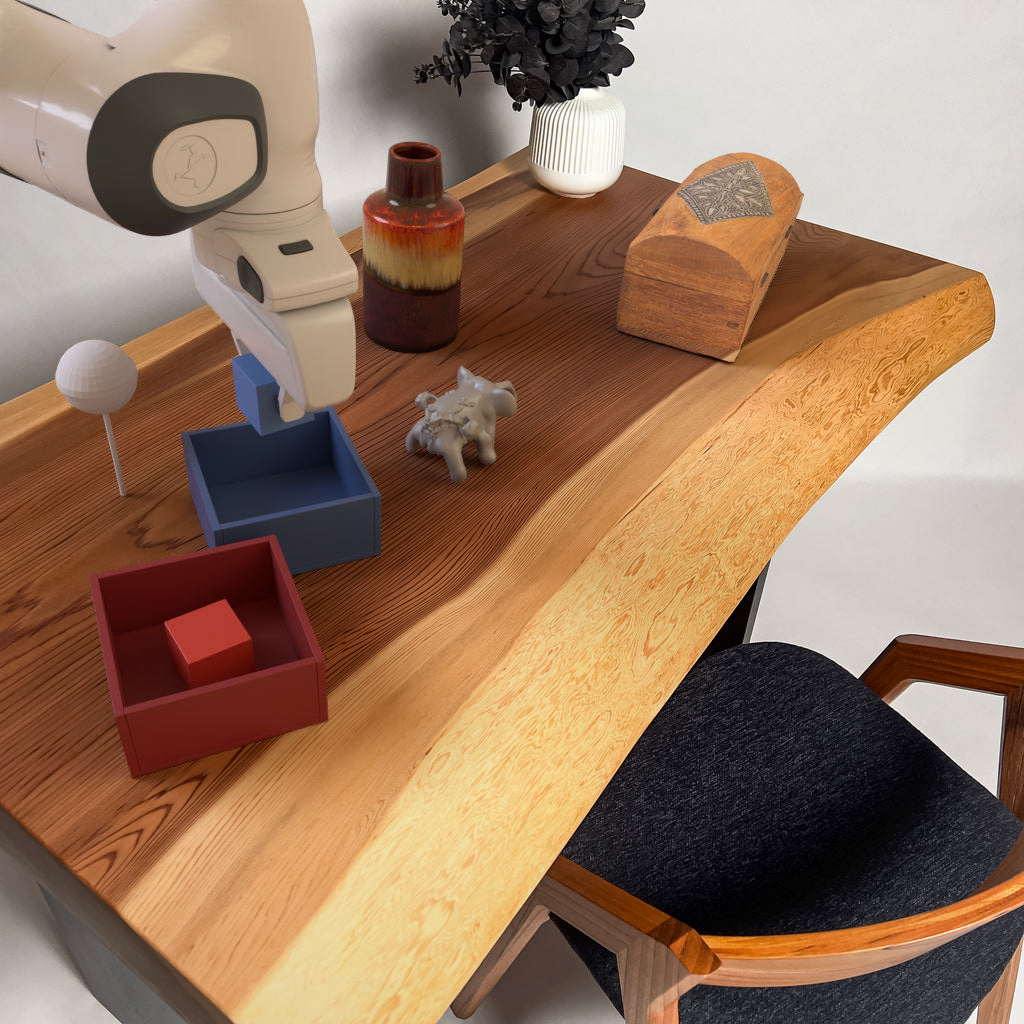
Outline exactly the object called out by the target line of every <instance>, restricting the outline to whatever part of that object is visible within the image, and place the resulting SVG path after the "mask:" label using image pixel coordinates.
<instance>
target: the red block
mask: <svg viewBox="0 0 1024 1024" xmlns="http://www.w3.org/2000/svg"><path fill="white" fill-rule="evenodd" d="M164 625H165V629H166V634H167V639H168V644H169V648H170V653H171V658H172V663H173V665H174V667H175V669H176V671H177V673H178V674H179V676H180V678H181V680H182V681H183V683H184V685H185V687H186V688H187V690H191V689H195V688H199V687H202V686H206V685H210V684H213V683H217V682H221V681H224V680H228V679H232V678H236V677H239V676H243V675H247V674H250V673H254V672H256V671H255V663H254V655H253V647H252V639H251V637H250V636H249V634H248V633H247V631H246V629H245V628H244V626H243V625H242V623H241V622H240V620H239V619H238V617H237V616H236V614H235V613H234V611H233V610H232V608H231V607H230V605H229V603H228V602H227V600H226V599H223V600H221V601H218V602H215V603H213V604H210V605H208V606H205V607H202V608H200V609H197V610H195V611H192V612H189V613H187V614H184V615H182V616H179V617H176V618H174V619H171V620H168V621H166V622H164Z"/></svg>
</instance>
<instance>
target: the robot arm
mask: <svg viewBox="0 0 1024 1024" xmlns="http://www.w3.org/2000/svg"><path fill="white" fill-rule="evenodd" d="M318 79H319V78H318V66H317V59H316V50H315V42H314V37H313V32H312V27H311V22H310V18H309V14H308V11H307V8H306V5H305V2H304V1H303V0H155V1H154V2H153V3H152V5H151V6H150V7H149V8H148V9H147V10H146V11H145V12H144V13H143V14H142V15H141V16H140V17H139V18H138V19H137V20H136V21H134V22H133V23H132V24H131V25H129V26H128V27H127V28H126V29H123V31H121V32H119V33H118V34H116V35H114V36H112V37H107V36H104V35H102V34H98V33H97V32H94V31H92V30H89V29H87V28H84V27H81V26H78V25H75V24H73V23H71V22H70V21H68V20H66V19H65V18H62V17H61V16H59V15H56V14H54V13H52V12H49V11H47V10H45V9H43V8H41V7H38V6H36V5H34V4H31V3H28V2H26V1H22V0H0V174H1V175H4V176H7V177H9V178H12V179H15V180H18V181H21V182H22V183H23V182H24V183H26V184H28V185H31V186H35V187H37V188H38V189H41V190H43V191H45V192H47V193H49V194H50V195H52V196H54V197H57V198H58V199H60V200H62V201H65V202H66V203H68V204H70V205H72V206H74V207H77V208H78V209H80V210H83V211H84V212H87V213H89V214H91V215H93V216H95V217H96V218H99V219H101V220H103V221H105V222H108V223H109V224H112V225H114V226H115V227H118V228H121V229H123V230H126V231H128V232H132V233H135V234H137V235H141V236H144V237H145V236H147V237H166V236H171V235H176V234H179V233H182V232H184V231H187V230H189V232H188V233H189V246H190V247H189V248H190V259H191V270H192V278H193V282H194V285H195V289H196V290H197V293H198V295H199V296H200V297H201V298H202V300H203V301H204V302H205V303H206V304H207V305H208V306H209V308H211V310H213V312H214V313H215V314H216V315H217V316H218V318H220V320H221V321H222V322H223V323H224V324H225V325H226V326H227V327H228V329H229V330H230V333H231V337H232V339H233V342H234V345H235V347H236V350H237V353H238V355H239V356H242V355H246V354H250V353H252V354H253V355H254V356H255V357H256V358H257V359H258V360H259V362H260V363H261V364H262V365H263V366H264V367H265V368H266V369H267V370H268V372H269V373H270V374H271V375H272V376H273V377H274V378H275V379H276V382H277V384H278V385H279V386H280V391H279V394H276V395H274V403H275V411H276V412H277V413H278V414H279V416H280V417H281V418H282V419H283V420H284V422H290V421H294V420H297V419H300V418H302V417H303V416H304V413H305V411H306V412H314V411H318V410H321V409H325V408H329V407H332V406H333V407H335V406H338V405H341V404H344V403H345V402H347V401H348V400H349V399H350V397H351V396H352V395H353V393H354V391H355V385H356V369H357V367H356V365H357V364H356V363H357V351H356V350H357V340H356V337H357V335H356V331H357V330H356V321H355V316H354V310H353V307H352V305H351V302H350V299H349V298H348V296H350V295H353V294H356V293H357V292H358V290H359V272H358V267H357V265H356V263H355V262H354V260H353V258H352V257H351V255H350V253H349V252H348V251H347V249H346V248H345V246H344V244H343V243H342V241H341V240H340V238H339V236H338V234H337V232H336V230H335V228H334V225H333V223H332V221H331V217H330V214H329V212H328V211H327V210H326V208H324V195H323V193H324V192H323V179H322V176H321V173H320V170H319V167H318V164H317V160H316V159H317V158H316V142H317V137H318V133H319V130H320V122H321V121H320V119H321V118H320V116H321V115H320V95H319V93H320V92H319V80H318Z"/></svg>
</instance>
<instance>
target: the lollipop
mask: <svg viewBox="0 0 1024 1024" xmlns="http://www.w3.org/2000/svg"><path fill="white" fill-rule="evenodd" d="M138 377H139V370H138V367H137V364H136V362H135V361H134V359H133V357H131V356H130V355H129V354H128V353H127V352H126V351H125V350H124V349H123V348H121V347H120V346H118V345H117V344H115V343H113V342H110V341H107V340H103V339H87V340H82V341H80V342H77V343H75V344H74V345H72V346H71V347H69V348H68V349H67V350H66V351H65V352H64V353H63V355H62V356H61V358H60V359H59V361H58V364H57V368H56V370H55V373H54V378H55V384H56V388H57V389H58V390H59V392H60V393H61V395H62V396H63V397H64V399H65V400H66V401H67V402H68V403H69V404H70V405H71V406H72V407H74V408H75V409H77V410H79V411H81V412H83V413H86V414H91V415H102V417H103V422H104V425H105V431H106V435H107V439H108V443H109V449H110V453H111V457H112V461H113V462H112V463H113V466H114V470H115V474H116V479H117V483H118V484H117V485H118V488H119V492H120V496H121V497H126V496H127V490H126V485H125V480H124V477H123V472H122V467H121V462H120V459H119V458H120V457H119V454H118V449H117V445H116V439H115V435H114V430H113V427H112V422H111V418H110V414H112V413H115V412H117V411H119V410H120V409H122V408H124V407H125V406H126V405H128V403H129V402H130V401H131V400H132V398H133V397H134V394H135V392H136V391H137V386H138Z"/></svg>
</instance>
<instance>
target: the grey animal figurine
mask: <svg viewBox="0 0 1024 1024" xmlns="http://www.w3.org/2000/svg"><path fill="white" fill-rule="evenodd" d="M456 382H457V388H456V389H450V390H449V391H445V393H444V394H442V395H441V396H440V397H437V396H436V395H434V394H432V393H431V392H429V391H427V390H426V391H423V392H421V393H419V394H418V395H417V396H416V398H415V400H414V405H415V406H416V407H417V408H419V409H420V410H422V411H424V417H423V416H422V418H420V419H419V420H418V421H417V422H416V423H415V424H414V425H413V426H412V427H411V429H410V430H409V431H408V433H407V435H406V437H405V448H406V450H407V452H408V453H409V454H415V453H417V452H418V451H419V450H420V448H421V449H425V448H427V451H428V453H430V454H432V455H435V454H436V455H437V456H442V457H443V458H444V460H445V462H446V465H447V467H448V470H449V476H450V479H451V481H452V482H453V483H456V484H462V483H463V482H464V481H466V479H467V477H468V472H467V468H466V465H465V463H464V460H463V459H464V458H463V454H462V451H463V446H465V445H466V444H468V441H472V442H473V445H474V447H475V449H476V451H477V453H478V457H479V460H480V462H481V463H482V464H483V465H486V466H491V465H493V464H494V463H496V461H497V453H496V451H495V439H496V426H497V416H499V417H504V418H510V417H513V416H514V415H515V414H516V412H517V411H518V404H517V402H518V395H517V394H518V393H516V390H515V386H514V385H513V384H512V383H513V382H511V380H504V381H500V382H492V381H489V380H488V379H486V378H485V377H482V376H481V375H475V374H473V373H472V372H471V371H470V370H469V369H467V368H465V366H463V365H461V366H459V368H458V371H457V374H456ZM430 400H433V401H434V402H433V403H430V404H429V401H430Z"/></svg>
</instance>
